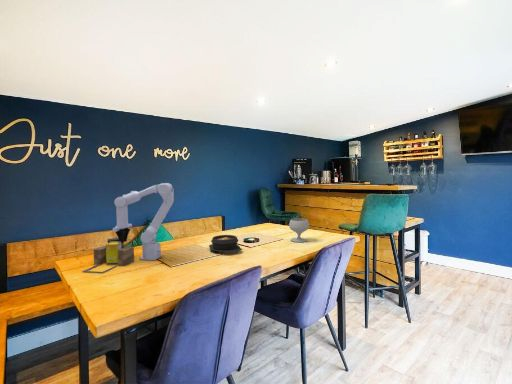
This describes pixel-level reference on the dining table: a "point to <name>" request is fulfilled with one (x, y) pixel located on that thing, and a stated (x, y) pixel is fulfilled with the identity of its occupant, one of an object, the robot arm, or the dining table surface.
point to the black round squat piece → (225, 244)
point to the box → (115, 241)
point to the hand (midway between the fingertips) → (123, 242)
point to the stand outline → (97, 271)
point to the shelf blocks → (123, 256)
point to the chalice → (299, 228)
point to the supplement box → (112, 252)
